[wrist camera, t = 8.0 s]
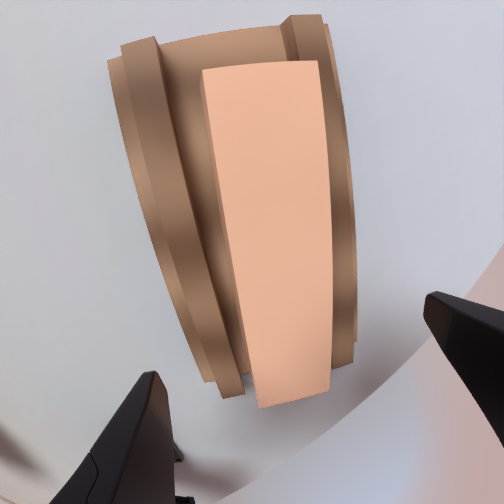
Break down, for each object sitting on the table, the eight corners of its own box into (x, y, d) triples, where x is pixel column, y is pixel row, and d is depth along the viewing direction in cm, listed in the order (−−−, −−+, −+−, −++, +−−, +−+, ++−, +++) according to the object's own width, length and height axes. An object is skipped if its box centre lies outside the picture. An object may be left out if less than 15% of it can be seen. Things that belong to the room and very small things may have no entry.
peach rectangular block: (299, 328, 22) (329, 390, 16) (242, 341, 21) (259, 408, 16) (275, 78, 15) (317, 60, 10) (199, 87, 15) (201, 69, 9)
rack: (351, 333, 24) (367, 357, 21) (203, 373, 23) (206, 402, 20) (321, 27, 15) (342, 15, 12) (111, 63, 14) (96, 54, 11)
